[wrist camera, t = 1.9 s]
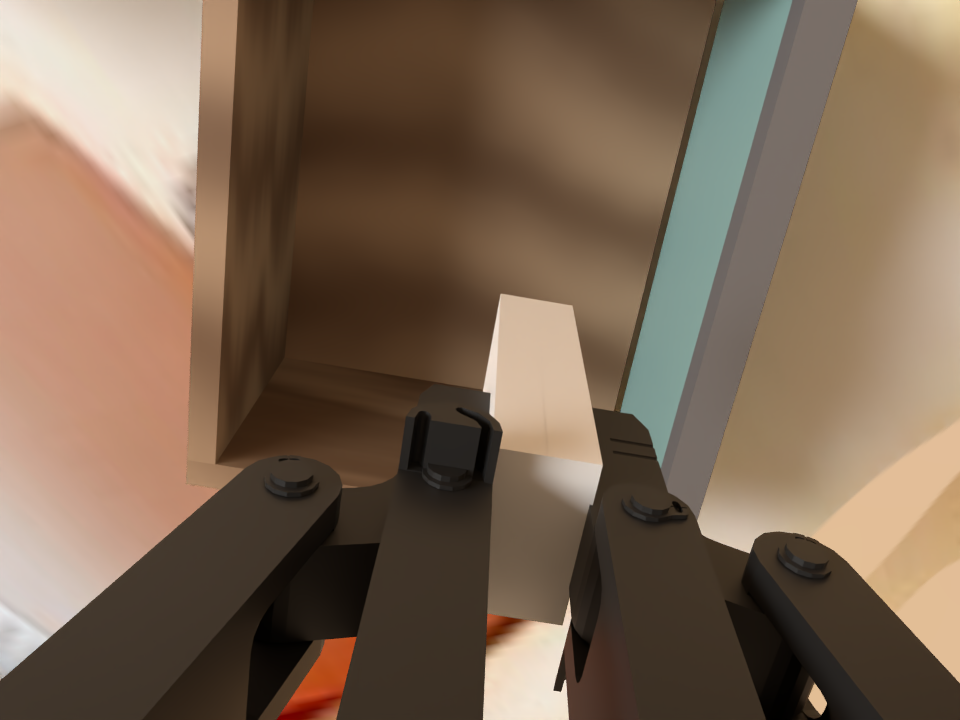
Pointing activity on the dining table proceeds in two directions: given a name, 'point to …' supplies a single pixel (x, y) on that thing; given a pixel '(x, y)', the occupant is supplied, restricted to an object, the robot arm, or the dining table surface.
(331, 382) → the crate
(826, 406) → the dining table surface
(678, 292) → the panel
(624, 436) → the robot arm
